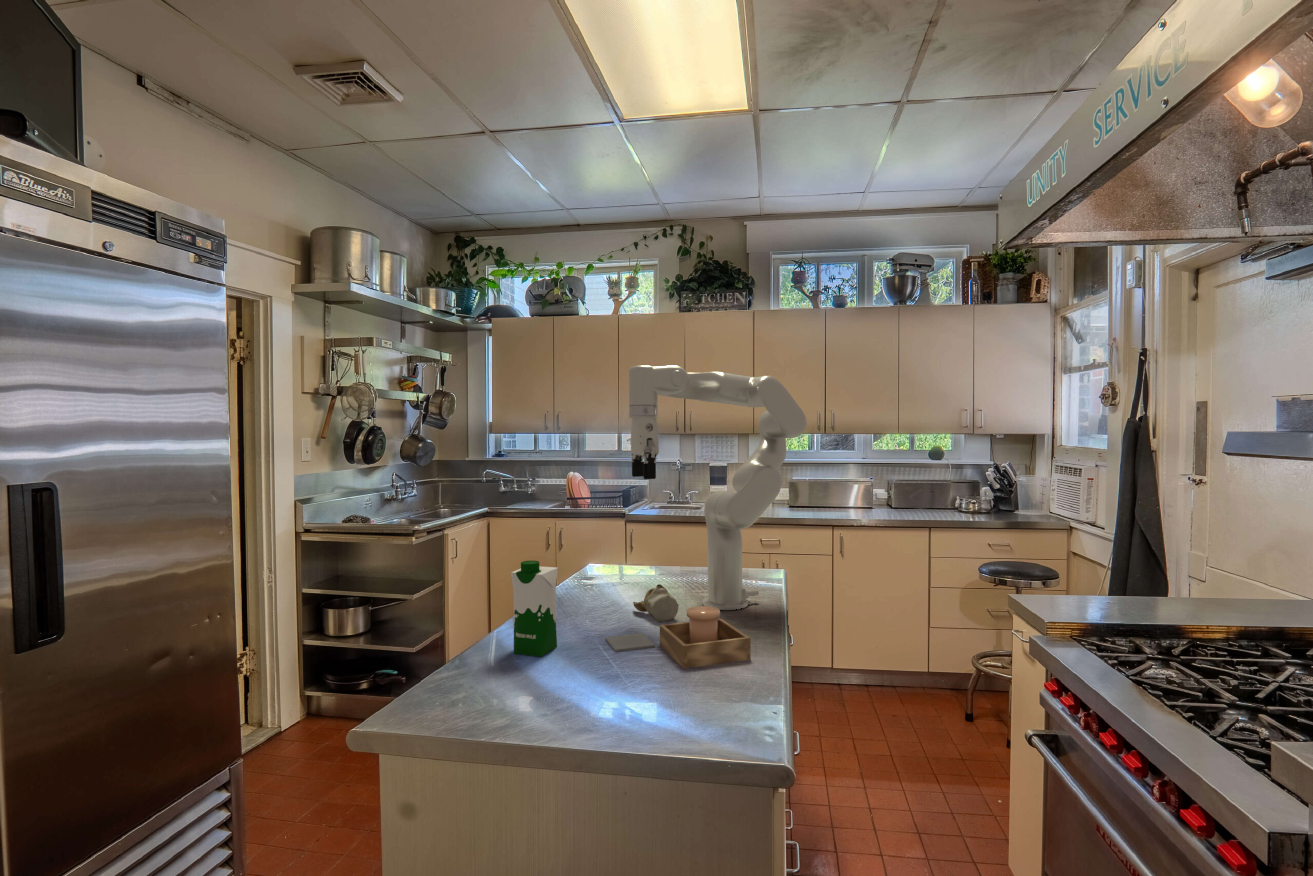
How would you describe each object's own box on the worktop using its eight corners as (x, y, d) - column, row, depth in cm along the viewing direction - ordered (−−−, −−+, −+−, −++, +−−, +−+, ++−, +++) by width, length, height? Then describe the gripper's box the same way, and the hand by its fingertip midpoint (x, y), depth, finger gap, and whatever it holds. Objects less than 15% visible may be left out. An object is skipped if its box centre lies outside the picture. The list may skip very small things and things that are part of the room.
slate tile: (642, 637, 153) (642, 633, 153) (654, 649, 144) (654, 645, 144) (605, 641, 150) (605, 637, 150) (615, 654, 141) (615, 649, 141)
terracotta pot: (712, 645, 145) (712, 604, 145) (725, 655, 139) (725, 613, 138) (682, 648, 143) (681, 608, 143) (694, 659, 136) (694, 616, 136)
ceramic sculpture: (648, 590, 162) (630, 581, 176) (648, 625, 161) (631, 613, 175) (688, 587, 165) (667, 578, 179) (688, 621, 165) (668, 610, 179)
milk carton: (507, 654, 142) (506, 563, 141) (528, 642, 150) (528, 555, 150) (543, 659, 139) (542, 565, 138) (563, 645, 147) (562, 557, 147)
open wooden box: (721, 640, 150) (721, 618, 150) (750, 661, 136) (750, 638, 136) (659, 647, 146) (659, 625, 146) (683, 670, 131) (683, 646, 131)
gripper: (668, 411, 164) (668, 479, 165) (646, 413, 181) (646, 475, 181) (640, 411, 162) (640, 480, 162) (620, 413, 178) (620, 476, 178)
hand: (643, 477), depth 171 cm, fingers open, 9 cm apart
